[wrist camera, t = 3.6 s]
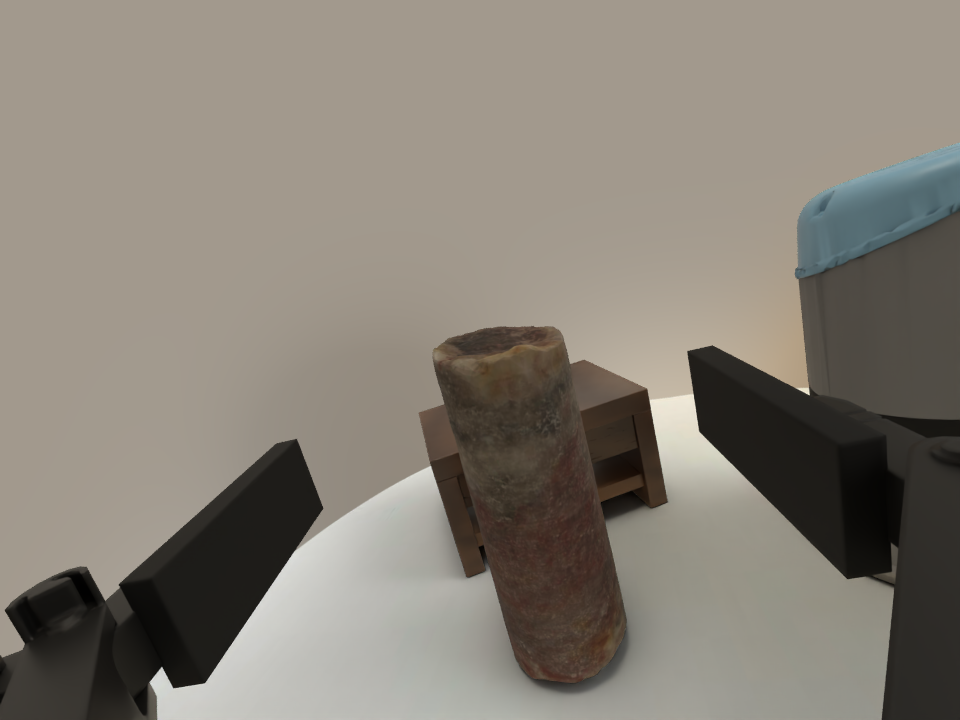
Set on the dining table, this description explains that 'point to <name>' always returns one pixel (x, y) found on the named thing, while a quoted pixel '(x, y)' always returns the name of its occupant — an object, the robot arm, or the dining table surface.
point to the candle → (534, 497)
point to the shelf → (611, 442)
